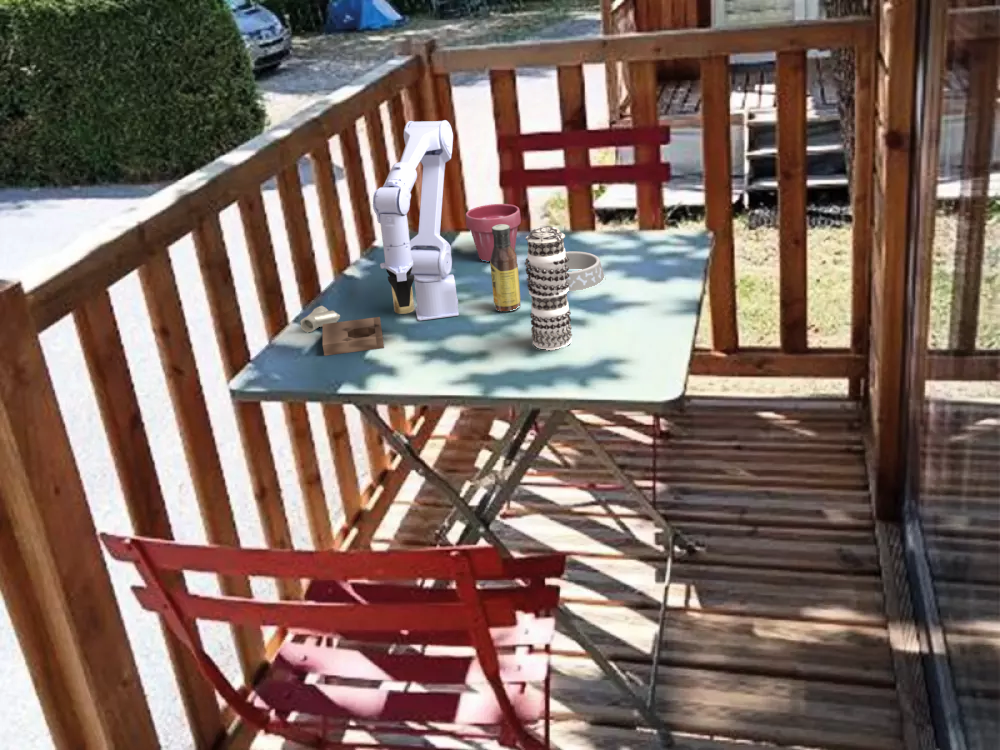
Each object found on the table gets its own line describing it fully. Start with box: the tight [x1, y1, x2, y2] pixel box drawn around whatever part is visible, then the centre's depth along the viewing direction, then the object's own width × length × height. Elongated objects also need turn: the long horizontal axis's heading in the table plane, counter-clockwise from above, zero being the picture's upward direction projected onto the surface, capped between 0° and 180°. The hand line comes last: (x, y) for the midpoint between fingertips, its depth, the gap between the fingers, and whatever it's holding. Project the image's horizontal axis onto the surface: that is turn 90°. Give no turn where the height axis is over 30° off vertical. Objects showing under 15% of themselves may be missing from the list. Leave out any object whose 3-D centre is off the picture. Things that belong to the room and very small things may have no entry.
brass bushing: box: [391, 286, 416, 315], centre depth 246 cm, size 4×4×6 cm
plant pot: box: [465, 203, 522, 261], centre depth 296 cm, size 14×14×13 cm
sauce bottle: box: [489, 224, 521, 312], centre depth 259 cm, size 7×6×20 cm
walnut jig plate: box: [322, 316, 385, 357], centre depth 251 cm, size 13×13×2 cm
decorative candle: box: [524, 226, 573, 351], centre depth 236 cm, size 9×9×25 cm
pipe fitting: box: [300, 305, 341, 333], centre depth 261 cm, size 8×4×7 cm
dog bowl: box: [564, 250, 605, 291], centre depth 276 cm, size 17×18×5 cm
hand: (403, 302), depth 247 cm, fingers closed on brass bushing, 4 cm apart
